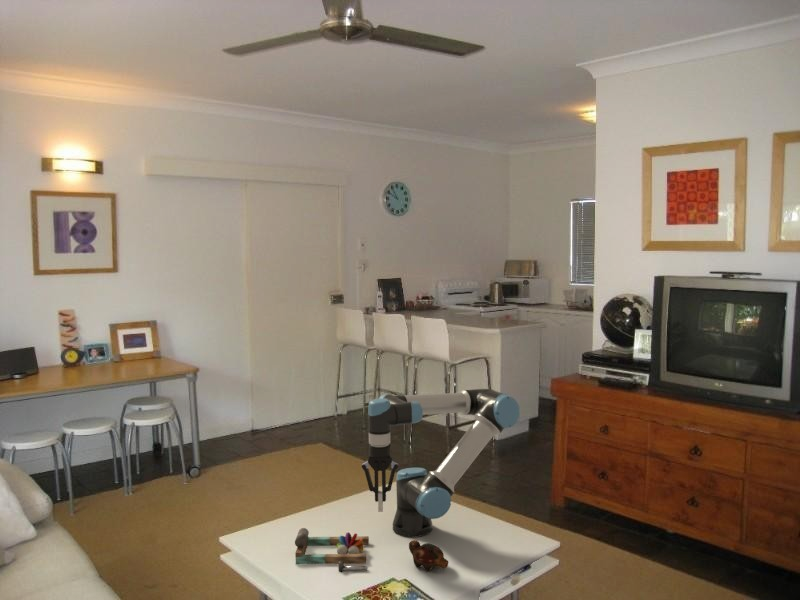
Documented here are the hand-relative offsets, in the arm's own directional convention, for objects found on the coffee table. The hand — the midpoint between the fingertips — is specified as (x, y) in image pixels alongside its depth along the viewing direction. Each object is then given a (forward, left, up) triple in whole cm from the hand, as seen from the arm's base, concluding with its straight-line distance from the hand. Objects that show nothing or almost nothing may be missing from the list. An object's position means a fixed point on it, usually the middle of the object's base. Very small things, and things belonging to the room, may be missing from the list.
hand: (380, 510), depth 234 cm
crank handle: (+9, +13, -15) cm, 22 cm away
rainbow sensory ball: (+11, 0, -16) cm, 19 cm away
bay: (+17, 0, -15) cm, 23 cm away
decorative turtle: (-16, +11, -16) cm, 25 cm away
